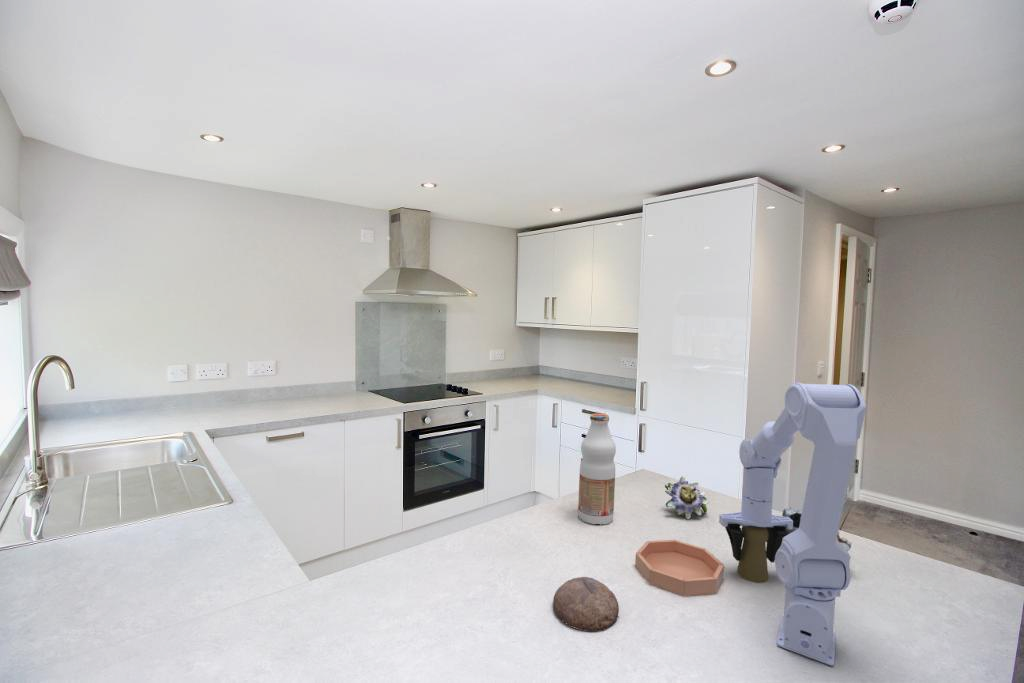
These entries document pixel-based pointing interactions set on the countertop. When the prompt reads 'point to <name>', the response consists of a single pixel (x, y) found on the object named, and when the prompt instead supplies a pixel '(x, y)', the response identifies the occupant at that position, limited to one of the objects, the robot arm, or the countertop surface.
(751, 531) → the olive knobbed peg
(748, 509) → the robot arm
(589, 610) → the decorative stone
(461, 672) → the countertop surface
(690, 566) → the octagonal tray
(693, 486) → the passion flower
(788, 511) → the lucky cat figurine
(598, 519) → the fruit juice
